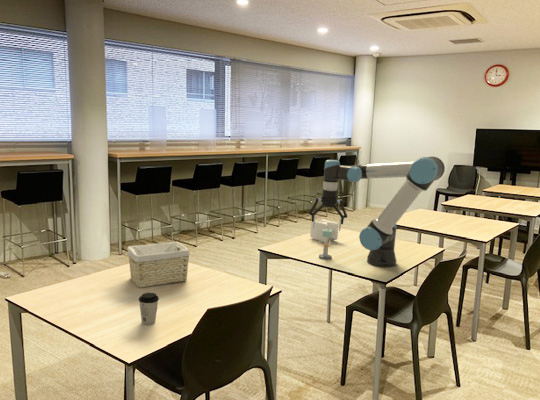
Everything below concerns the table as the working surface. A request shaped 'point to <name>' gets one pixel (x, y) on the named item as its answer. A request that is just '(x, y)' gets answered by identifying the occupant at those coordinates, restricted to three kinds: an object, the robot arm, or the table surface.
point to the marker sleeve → (326, 233)
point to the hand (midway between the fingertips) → (326, 229)
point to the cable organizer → (318, 230)
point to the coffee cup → (148, 308)
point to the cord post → (325, 250)
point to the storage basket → (158, 263)
